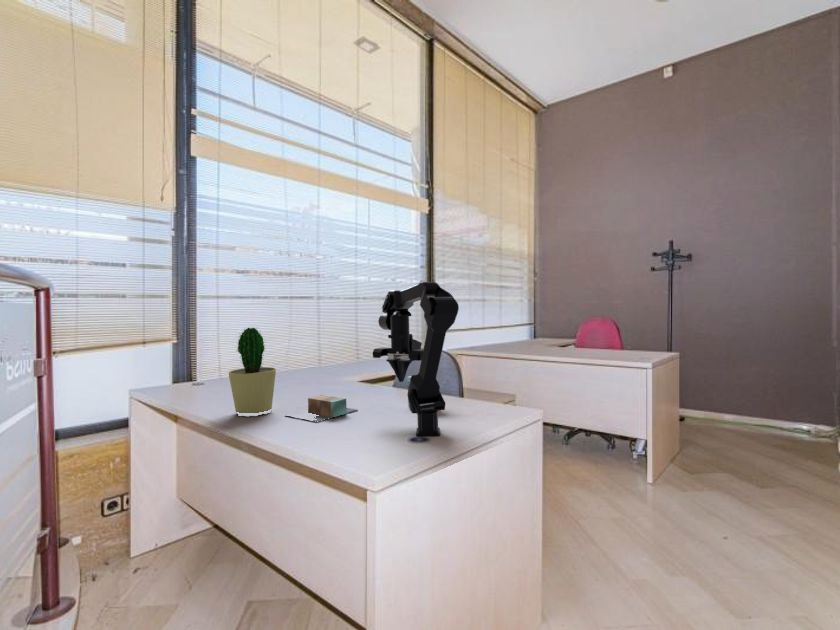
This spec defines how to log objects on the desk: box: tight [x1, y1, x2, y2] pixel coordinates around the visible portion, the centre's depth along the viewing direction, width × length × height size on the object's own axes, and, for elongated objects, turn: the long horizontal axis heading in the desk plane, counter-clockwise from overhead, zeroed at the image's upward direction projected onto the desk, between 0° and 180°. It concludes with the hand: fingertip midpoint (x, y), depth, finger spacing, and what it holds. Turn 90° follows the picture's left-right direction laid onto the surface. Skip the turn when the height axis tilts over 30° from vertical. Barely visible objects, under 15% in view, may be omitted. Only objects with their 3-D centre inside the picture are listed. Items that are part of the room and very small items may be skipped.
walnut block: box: [307, 394, 348, 419], centre depth 148 cm, size 5×6×12 cm
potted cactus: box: [227, 326, 277, 413], centre depth 153 cm, size 15×15×30 cm
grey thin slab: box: [313, 407, 359, 422], centre depth 150 cm, size 16×18×1 cm
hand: (401, 381), depth 138 cm, fingers closed
